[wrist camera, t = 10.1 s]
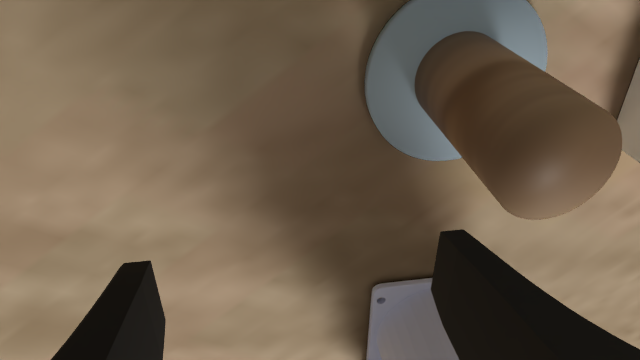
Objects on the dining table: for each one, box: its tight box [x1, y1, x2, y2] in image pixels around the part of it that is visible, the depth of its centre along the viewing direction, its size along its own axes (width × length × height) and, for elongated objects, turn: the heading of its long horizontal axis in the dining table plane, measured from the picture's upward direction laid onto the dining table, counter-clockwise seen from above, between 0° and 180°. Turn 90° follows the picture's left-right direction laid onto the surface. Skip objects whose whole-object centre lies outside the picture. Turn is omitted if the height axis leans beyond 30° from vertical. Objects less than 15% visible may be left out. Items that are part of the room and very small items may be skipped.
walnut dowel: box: [414, 31, 622, 220], centre depth 18 cm, size 4×4×8 cm
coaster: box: [364, 0, 547, 161], centre depth 21 cm, size 8×8×1 cm
